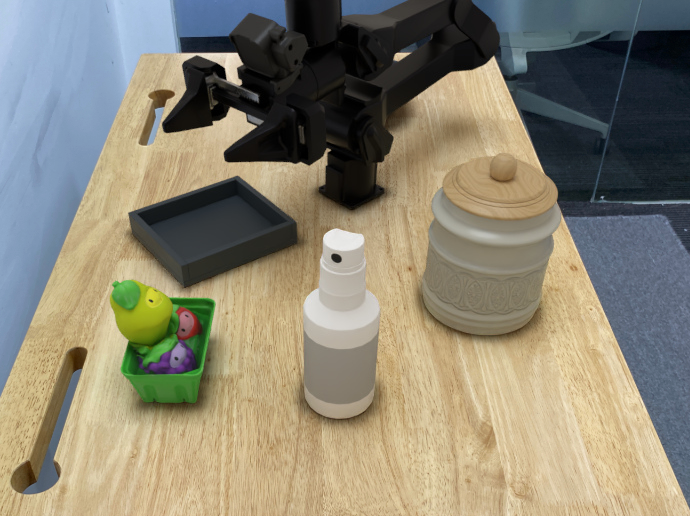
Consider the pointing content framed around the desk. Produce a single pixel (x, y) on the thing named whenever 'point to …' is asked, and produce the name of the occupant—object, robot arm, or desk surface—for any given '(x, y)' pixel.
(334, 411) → the spray bottle
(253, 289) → the desk surface
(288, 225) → the tray
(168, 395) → the fruit basket
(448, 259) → the jar
